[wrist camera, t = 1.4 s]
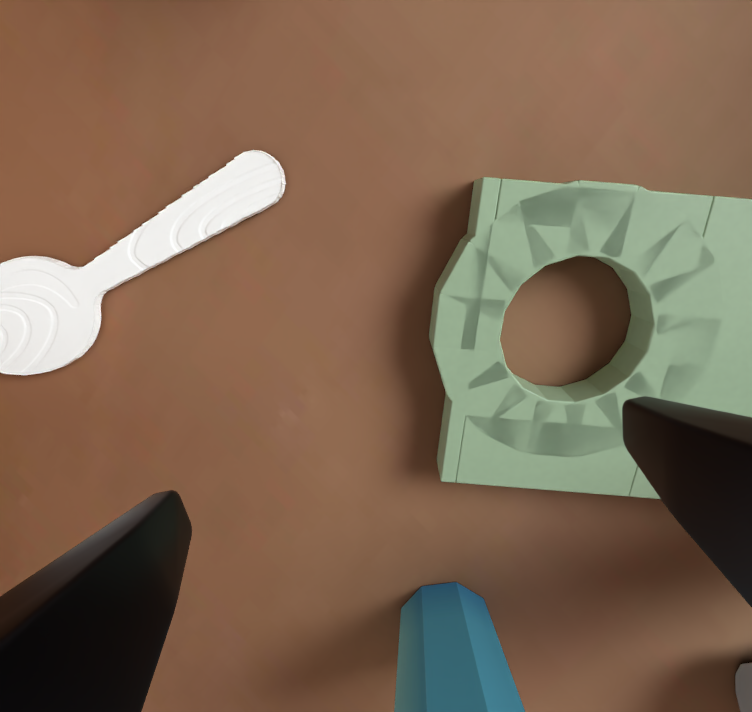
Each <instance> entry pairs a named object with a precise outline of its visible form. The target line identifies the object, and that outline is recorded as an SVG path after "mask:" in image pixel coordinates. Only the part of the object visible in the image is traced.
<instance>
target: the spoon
mask: <svg viewBox="0 0 752 712" xmlns="http://www.w3.org/2000/svg"><path fill="white" fill-rule="evenodd" d="M226 165H227V166H225V167H223V168H222V169H220V170H219V171H217V172H216V173H214V174H212V175H210V176H208V177H209V178H208V179H206V180H204V181H203V182H201V183H200V184H198V185H196V186H194V187H193V188H194V189H192V190H191V191H189V192H187V193H185V194H183V195H181V196H182V197H181V198H180V199H178V200H176V201H175V202H173V203H172V204H170V205H168V206H166V207H167V208H166V209H164V210H162V211H160V212H158V213H160V214H158V215H156V216H155V217H153V218H152V219H150V220H149V221H147V222H145V223H143V224H142V225H143V226H141V227H139V228H137V229H135V230H133V231H134V232H133V233H131V234H130V235H128V236H127V237H125V238H123V239H121V240H119V241H118V242H119V243H117V244H115V245H114V246H112V247H110V248H111V249H109V250H108V251H106V252H104V253H103V254H101V255H100V256H98V257H96V258H94V259H95V260H93V261H92V262H90V263H88V264H87V265H85V266H84V267H76V266H71V265H69V264H68V263H65V262H62V261H59V260H56V259H52V258H49V257H44V256H43V257H42V256H26V257H19V258H15V259H12V260H8V261H7V262H3V263H1V264H0V372H1V373H4V374H12V375H21V374H22V376H23V375H25V376H26V375H30V374H31V375H33V374H38V373H44V372H48V371H52V370H55V369H58V368H61V367H64V366H66V365H68V364H70V363H71V362H73V361H75V360H77V359H78V358H80V357H82V355H83V354H85V352H87V351H88V350H89V348H90V346H92V344H93V343H94V341H95V340H96V337H97V334H98V333H99V328H100V327H101V324H100V322H101V317H102V316H101V309H100V308H101V305H100V304H101V302H102V301H101V300H102V297H103V296H104V294H105V293H107V291H109V290H112V289H114V288H115V287H117V286H119V285H120V284H122V283H124V282H125V281H129V280H130V279H132V278H134V277H137V276H139V275H141V274H142V273H144V272H145V271H147V270H149V269H150V268H154V267H156V266H157V265H159V264H161V263H164V262H166V261H167V260H169V259H171V258H172V257H174V256H176V255H177V254H181V253H182V252H184V251H186V250H189V249H191V248H193V247H194V246H196V245H198V244H199V243H201V242H203V241H206V240H208V239H209V238H211V237H213V236H214V235H218V234H220V233H221V232H223V231H225V230H226V229H228V228H230V227H233V226H235V225H236V224H238V223H240V222H241V221H243V220H245V219H246V218H250V217H252V216H253V215H255V214H257V213H260V212H262V211H263V210H265V209H267V208H268V207H270V206H272V205H274V204H275V203H277V202H278V200H279V199H280V198H281V197H282V195H283V193H284V190H285V185H286V182H285V176H284V175H285V174H284V171H283V169H282V167H281V165H280V163H279V162H278V161H277V160H275V158H274V157H272V156H271V155H269V154H267V153H266V152H263V151H260V150H259V151H258V150H252V151H247V152H243V153H242V154H240V155H238V156H237V157H234V160H233V161H231V162H229V163H227V164H226Z"/></svg>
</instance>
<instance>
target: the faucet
mask: <svg viewBox="0 0 752 712" xmlns="http://www.w3.org/2000/svg"><path fill="white" fill-rule="evenodd" d="M735 682H736V696H737V700H738V704H739V708H740V712H752V663H746V664H741V665H740V667H739V669H738V670H737V672H736V674H735Z"/></svg>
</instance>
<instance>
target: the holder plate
mask: <svg viewBox="0 0 752 712" xmlns="http://www.w3.org/2000/svg"><path fill="white" fill-rule="evenodd" d="M575 256H586V257H595V258H596V259H598V260H600V261H602V262H603V263H605V264H607V265H609V266H611V267H612V268H613V269H614V270H615V272H616V273H617V275H618V276H619V277H620V279H621V280H622V282H623V283H624V285H625V286H626V287H627V292H628V298H629V304H630V310H631V319H630V323H629V327H628V331H627V335H626V339H625V341H624V343H623V344H622V346H621V347H620V348H619V350H618V351H617V353H616V354H615V356H614V357H613V358H612V360H611V361H610V363H609V364H607V365H606V366H604V367H603V368H601V369H600V370H599V371H597V372H596V373H594V374H593V375H591V376H590V377H589V378H587V379H585V380H582V381H578V382H575V383H571V384H568V385H564V386H561V387H555V386H543V385H534V384H532V383H530V382H528V381H526V380H524V379H522V378H520V377H518V376H516V375H514V374H512V372H511V371H510V370H509V369H508V367H507V366H506V363H505V359H504V355H503V351H502V347H501V343H500V336H501V330H502V324H503V318H504V312H505V310H506V309H507V307H508V305H509V304H510V302H511V300H512V299H513V297H514V295H515V294H516V292H517V291H518V289H519V287H520V286H521V285H522V284H523V283H524V282H525V281H527V280H528V279H529V278H531V277H532V276H533V275H534V274H536V273H537V272H538V271H539V270H541V269H542V268H543V267H545V266H546V265H549V264H552V263H556V262H559V261H562V260H565V259H568V258H571V257H575ZM429 339H430V343H431V346H432V349H433V352H434V356H435V359H436V362H437V366H438V369H439V372H440V376H441V379H442V382H443V385H444V388H445V391H446V394H445V401H444V409H443V416H442V424H441V431H440V439H439V446H438V454H437V465H438V470H439V475H440V480H441V481H442V482H453V483H454V482H455V481H456V483H466V484H479V485H491V486H504V487H516V488H529V489H541V490H554V491H566V492H579V493H591V494H604V495H616V496H630V497H641V498H654V499H660V497H659V496H658V494H657V493H656V491H655V490H654V488H653V487H652V486H651V484H650V483H649V481H648V480H647V478H646V477H645V475H644V474H643V472H642V471H641V470H640V468H639V467H638V465H637V464H636V462H635V461H634V459H633V458H632V457H631V455H630V454H629V452H628V451H627V449H626V447H625V445H624V442H623V430H622V406H623V403H624V402H625V401H626V400H628V399H632V398H637V397H642V396H648V397H653V398H658V399H663V400H668V401H673V402H678V403H683V404H688V405H693V406H698V407H703V408H708V409H713V410H718V411H723V412H728V413H733V414H738V415H743V416H748V417H752V199H745V198H733V197H721V196H708V195H696V194H684V193H672V192H660V191H648V190H647V189H645V188H643V187H641V186H638V185H633V184H621V183H608V182H596V181H584V180H576V181H570V182H564V183H551V182H539V181H526V180H514V179H500V178H491V177H483V178H480V179H477V180H475V181H474V185H473V192H472V200H471V207H470V215H469V222H468V230H467V234H466V235H464V236H463V237H462V239H460V241H459V243H458V245H457V247H456V248H455V250H454V252H453V254H452V256H451V258H450V259H449V261H448V263H447V265H446V267H445V268H444V270H443V272H442V274H441V276H440V278H439V279H438V281H437V283H436V285H435V288H434V296H433V305H432V313H431V322H430V330H429Z"/></svg>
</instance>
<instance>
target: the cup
mask: <svg viewBox="0 0 752 712" xmlns="http://www.w3.org/2000/svg"><path fill="white" fill-rule="evenodd" d="M394 712H525V710H524V707H523V705H522V702H521V699H520V696H519V694H518V691H517V688H516V685H515V683H514V680H513V677H512V675H511V672H510V669H509V666H508V664H507V661H506V658H505V655H504V653H503V650H502V647H501V645H500V642H499V639H498V636H497V634H496V631H495V628H494V625H493V623H492V620H491V617H490V615H489V612H488V609H487V606H486V604H485V601H484V598H482V597H480V596H479V595H477V594H475V593H474V592H472V591H470V590H469V589H467V588H465V587H464V586H462V585H460V584H459V583H457V582H452V583H444V584H436V585H428V586H421V587H420V589H419V590H418V591H417V592H416V593H415V594H414V595H413V596H412V597H411V598H410V599H409V600H408V601H407V603H406V604H405V605H404V606H403V607H402V608H401V618H400V633H399V648H398V664H397V679H396V694H395V709H394Z"/></svg>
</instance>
